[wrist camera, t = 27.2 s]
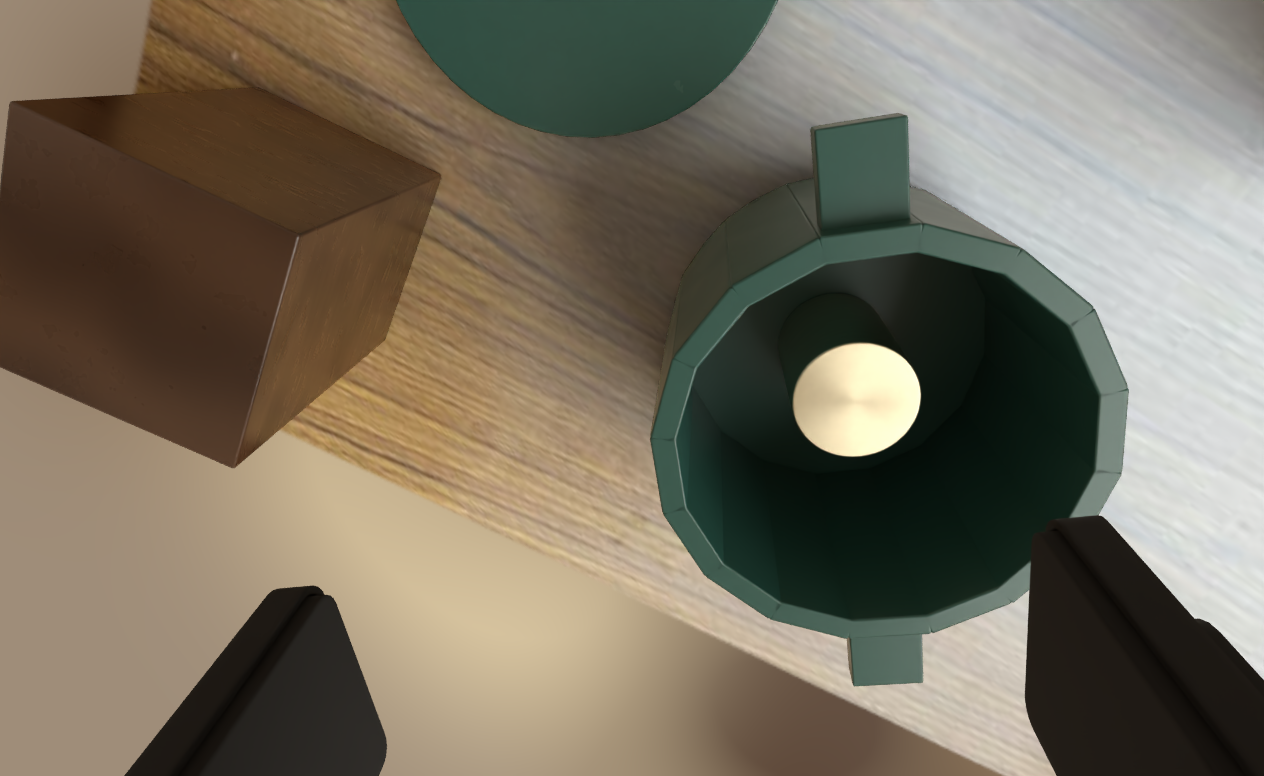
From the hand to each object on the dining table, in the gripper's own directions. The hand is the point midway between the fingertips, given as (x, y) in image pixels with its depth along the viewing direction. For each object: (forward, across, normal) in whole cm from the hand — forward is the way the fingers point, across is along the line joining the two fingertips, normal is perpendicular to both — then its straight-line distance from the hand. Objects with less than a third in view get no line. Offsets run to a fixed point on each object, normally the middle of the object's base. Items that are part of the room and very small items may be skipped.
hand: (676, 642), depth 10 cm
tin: (+23, -5, +5) cm, 24 cm away
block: (+24, +15, -3) cm, 28 cm away
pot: (+23, -5, +5) cm, 24 cm away
